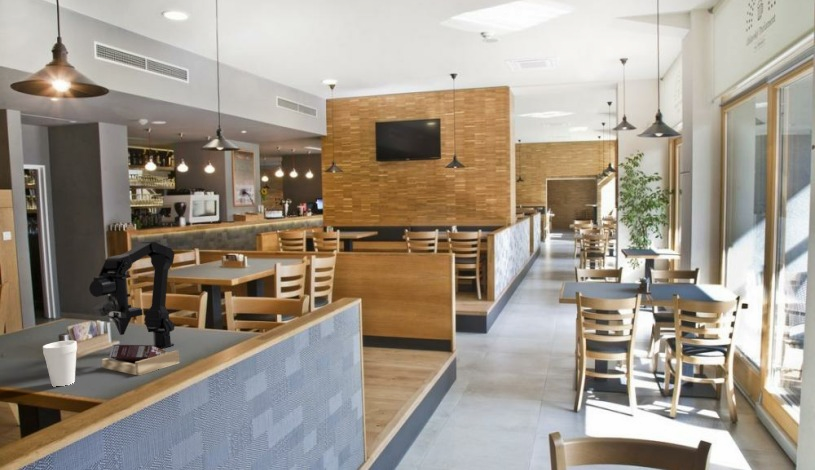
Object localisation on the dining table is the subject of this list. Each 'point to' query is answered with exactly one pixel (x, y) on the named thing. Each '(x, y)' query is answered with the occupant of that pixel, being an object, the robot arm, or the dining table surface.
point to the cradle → (143, 363)
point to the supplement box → (134, 352)
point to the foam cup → (61, 362)
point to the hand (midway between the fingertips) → (122, 334)
